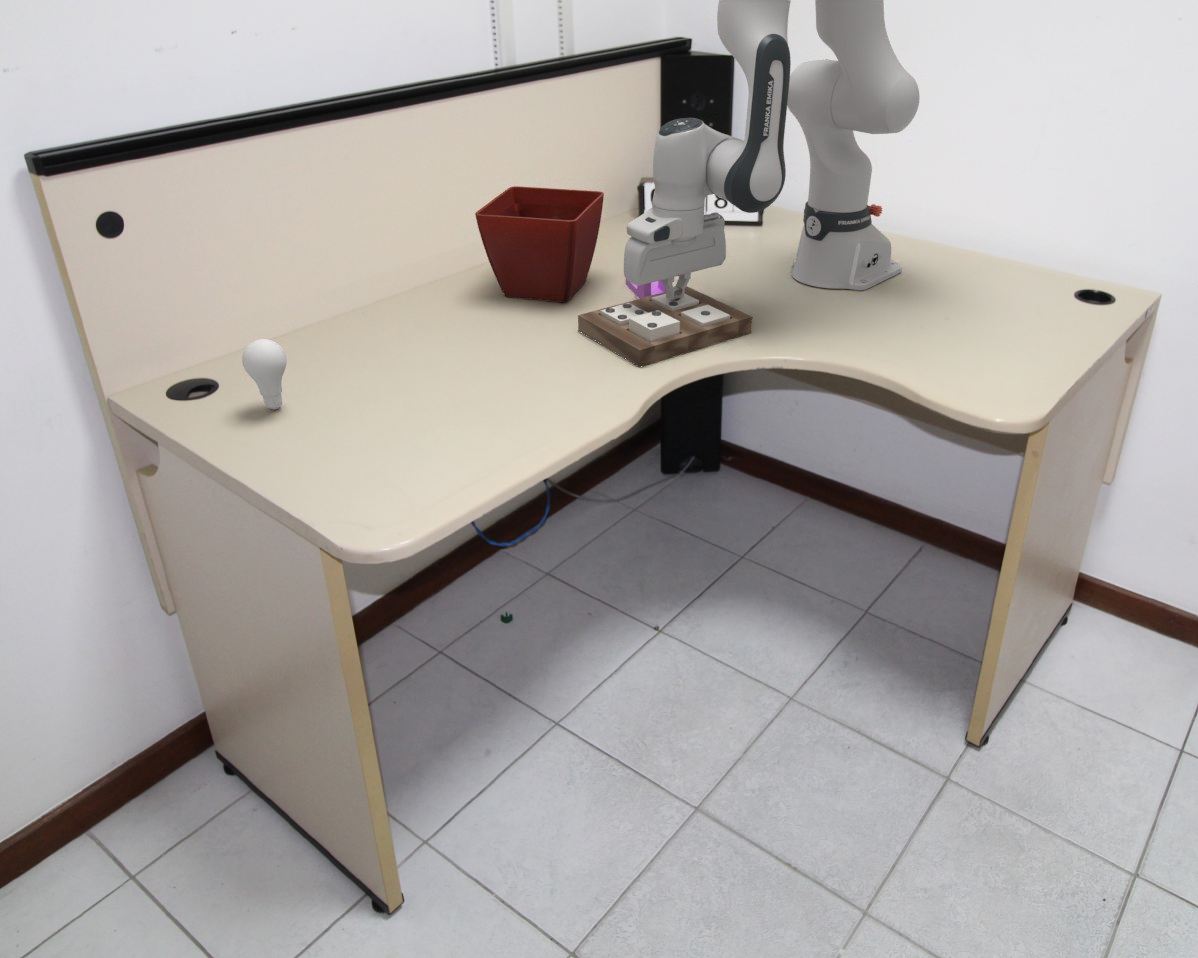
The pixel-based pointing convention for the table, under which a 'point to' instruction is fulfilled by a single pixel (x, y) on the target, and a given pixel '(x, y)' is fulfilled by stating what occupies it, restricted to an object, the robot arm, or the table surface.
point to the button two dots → (654, 326)
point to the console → (672, 346)
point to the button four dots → (622, 313)
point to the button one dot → (705, 315)
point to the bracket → (647, 288)
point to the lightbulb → (266, 369)
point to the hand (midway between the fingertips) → (674, 298)
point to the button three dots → (675, 302)
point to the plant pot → (541, 240)
